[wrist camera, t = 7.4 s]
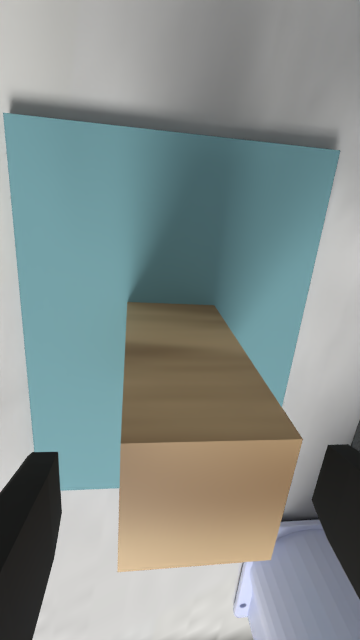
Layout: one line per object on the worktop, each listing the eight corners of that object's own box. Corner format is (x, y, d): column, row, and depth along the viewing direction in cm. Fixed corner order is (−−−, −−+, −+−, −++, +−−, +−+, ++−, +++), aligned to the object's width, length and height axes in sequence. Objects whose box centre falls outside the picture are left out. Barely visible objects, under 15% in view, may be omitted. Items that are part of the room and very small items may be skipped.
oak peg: (204, 379, 17) (270, 559, 9) (125, 379, 17) (117, 571, 8) (214, 305, 16) (303, 439, 8) (127, 302, 15) (120, 443, 7)
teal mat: (261, 474, 21) (264, 481, 21) (40, 482, 19) (37, 491, 19) (332, 151, 15) (340, 150, 14) (8, 115, 13) (3, 112, 12)
